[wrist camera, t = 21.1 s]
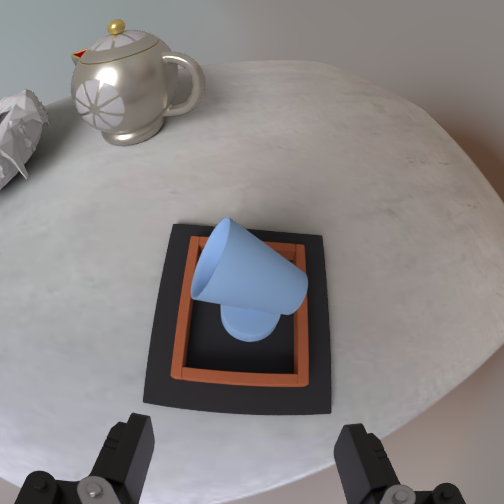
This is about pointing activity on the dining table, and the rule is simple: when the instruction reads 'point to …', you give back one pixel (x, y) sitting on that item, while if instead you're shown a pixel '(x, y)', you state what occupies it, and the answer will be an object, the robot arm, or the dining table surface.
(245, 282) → the spotlight
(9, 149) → the bowl
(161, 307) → the pad
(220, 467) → the dining table surface
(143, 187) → the dining table surface
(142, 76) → the teapot
